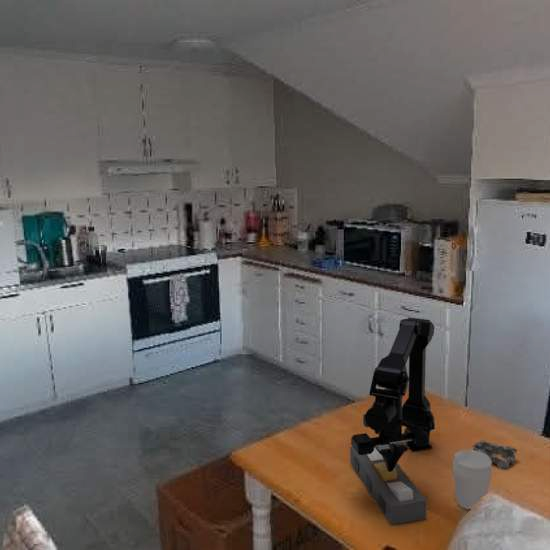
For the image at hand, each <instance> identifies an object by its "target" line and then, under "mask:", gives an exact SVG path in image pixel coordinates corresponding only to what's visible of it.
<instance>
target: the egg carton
mask: <svg viewBox="0 0 550 550" xmlns="http://www.w3.org/2000/svg"><path fill="white" fill-rule="evenodd" d="M471 446H472V447H473V450H476V451H479V452H482V453H484V454H486V455H488V456H489V457H490V459H491V461H492V464H495V465H497V467H496V468H499V469H508V467H510V464H511V463H512V465H514V464H515V463H516V455H515V454H516V453H517V452H518V449H517V448H515V447H512V446H508V445H507V446H505V445H498V444H496V443H492V442H488V441H486V440H484V439H483V440H480V441H479V442H478V441H477V442H476V443H474V444H472V445H471ZM500 454H501V455H500ZM495 455H496V456H495ZM497 455H500V456H501V458H499V457H498V456H497Z"/></svg>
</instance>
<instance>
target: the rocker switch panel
mask: <svg viewBox="0 0 550 550" xmlns="http://www.w3.org/2000/svg"><path fill="white" fill-rule="evenodd" d="M349 452H350V453H349V454H350V455H349V456H350V457H349V458H350V459H349V460H350V461H349V463H350V465H351V466H352V468H353V470H354V471H355V473H356V474H357V476H358V477H359V478H360V480H361V482H362V483H363V485H364V486H365V488H366V490H367V491H368V493H369V494H370V496H371V497H372V498H373V500H374V502H375V503H376V505H377V507H378V508H379V509H380V510H381V512H382V514H383V516H384V517H385V519H386V520H387V521H388V523H389V525H390V526H395V525H400V524H406V523H407V524H408V523H412V522H416V521H417V522H418V521H421V520H427V503H428V501H427V499H426V497H425V496H424V495H423V494H422V493H421V491H420V490H419V489H418V488H417V487H416V485H415V484H414V483H413V482H412V480H411V479H410V478H409V476H408V475H407V474H406V473H405V472H404V470H403V469H402V468H401V466H400V465H399V464H398V463H397V464H396V466H395V467H394V468H395V469H396V470H397V478H398V479H393V480H387V481H384V480H383V479H382V478H381V477H380V475H379V474H378V473H377V471H376V470H375V468H374V467H373V464H378V463H384V459H383V460H382V461H375V462H370V461H369V460H368V459H367V457H366V456H365V455H359V454H358V453H357V452H356V451H355V449H354V448H353V446H350V447H349ZM382 457H383V456H382ZM398 481H401V482H402V483H404V484H405V485H406V486H408V487H409V488H410V489H412V490H413V500H407V501H402V502H399V501H398V500H397V499H396V498H395V496H394V495H393V493H392V492H391V491H390V489H389V488H388V486H387V483H392V482H398Z"/></svg>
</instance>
